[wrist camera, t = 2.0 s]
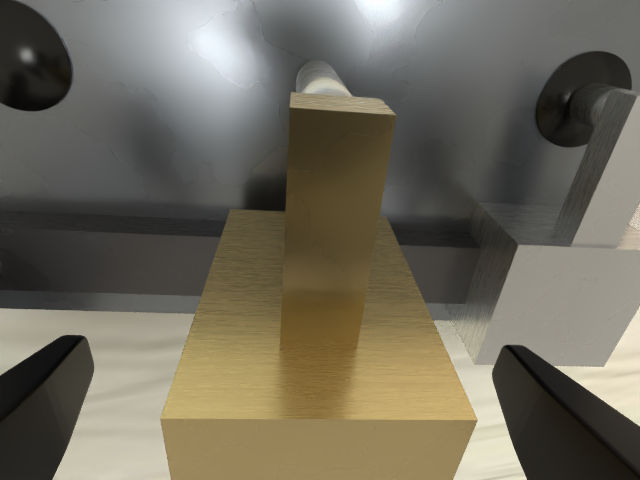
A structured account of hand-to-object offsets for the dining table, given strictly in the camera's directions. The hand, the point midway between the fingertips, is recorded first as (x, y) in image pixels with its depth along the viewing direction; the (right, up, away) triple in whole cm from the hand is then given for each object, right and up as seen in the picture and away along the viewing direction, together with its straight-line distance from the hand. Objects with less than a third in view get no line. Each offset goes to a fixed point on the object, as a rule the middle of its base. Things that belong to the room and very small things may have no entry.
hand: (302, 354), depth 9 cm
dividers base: (0, +5, +3) cm, 6 cm away
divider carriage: (0, +3, +2) cm, 4 cm away
